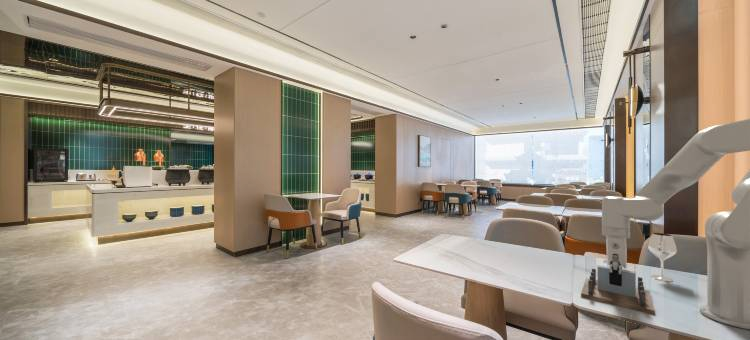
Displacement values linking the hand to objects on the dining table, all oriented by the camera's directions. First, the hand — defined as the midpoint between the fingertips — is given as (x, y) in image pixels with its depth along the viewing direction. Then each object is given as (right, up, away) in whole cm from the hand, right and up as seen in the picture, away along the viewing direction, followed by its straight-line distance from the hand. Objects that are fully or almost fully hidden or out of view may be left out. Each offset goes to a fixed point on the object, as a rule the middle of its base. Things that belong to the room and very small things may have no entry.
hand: (615, 280), depth 98 cm
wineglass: (+33, -6, +16) cm, 37 cm away
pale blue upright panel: (0, -4, 0) cm, 4 cm away
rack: (0, -5, 0) cm, 5 cm away
